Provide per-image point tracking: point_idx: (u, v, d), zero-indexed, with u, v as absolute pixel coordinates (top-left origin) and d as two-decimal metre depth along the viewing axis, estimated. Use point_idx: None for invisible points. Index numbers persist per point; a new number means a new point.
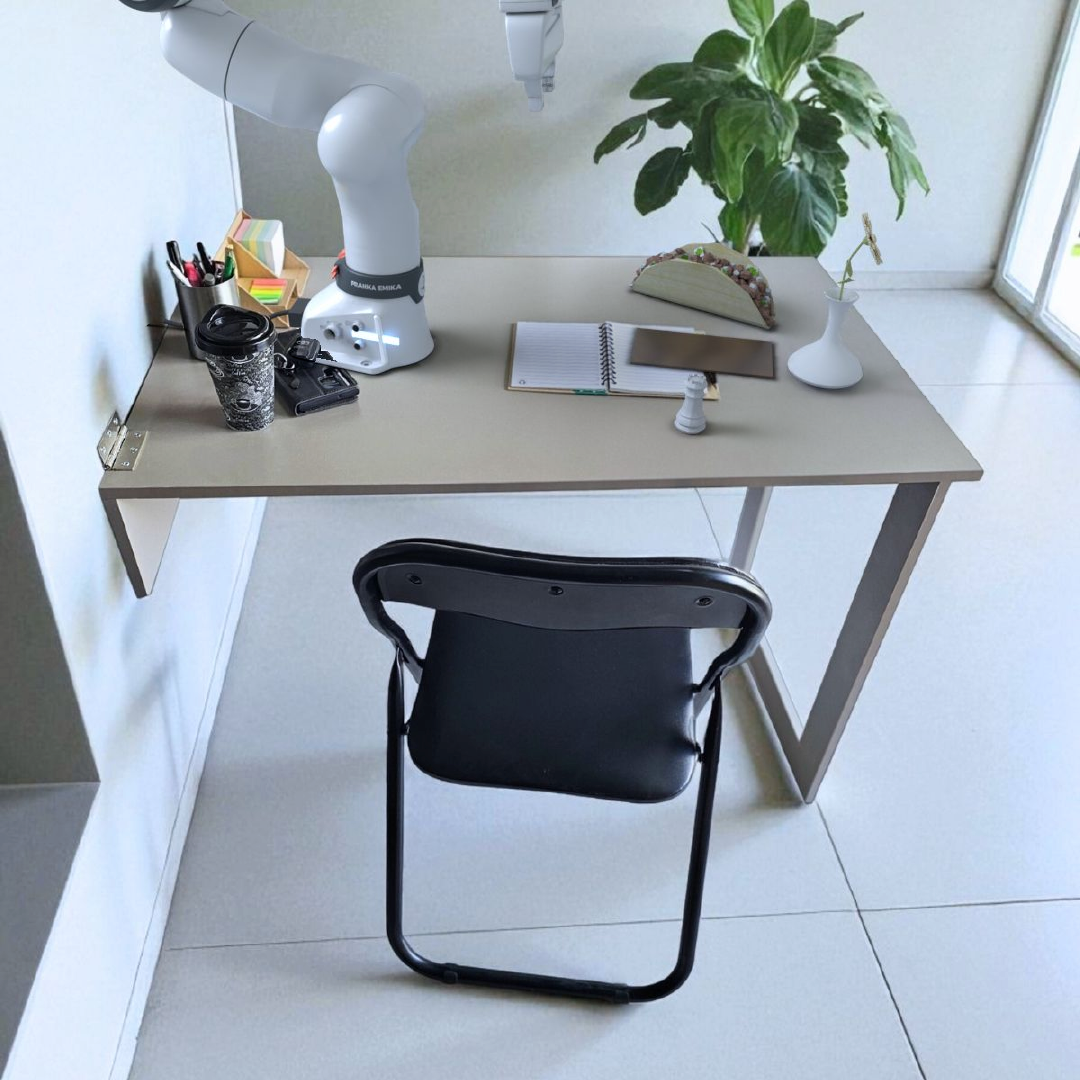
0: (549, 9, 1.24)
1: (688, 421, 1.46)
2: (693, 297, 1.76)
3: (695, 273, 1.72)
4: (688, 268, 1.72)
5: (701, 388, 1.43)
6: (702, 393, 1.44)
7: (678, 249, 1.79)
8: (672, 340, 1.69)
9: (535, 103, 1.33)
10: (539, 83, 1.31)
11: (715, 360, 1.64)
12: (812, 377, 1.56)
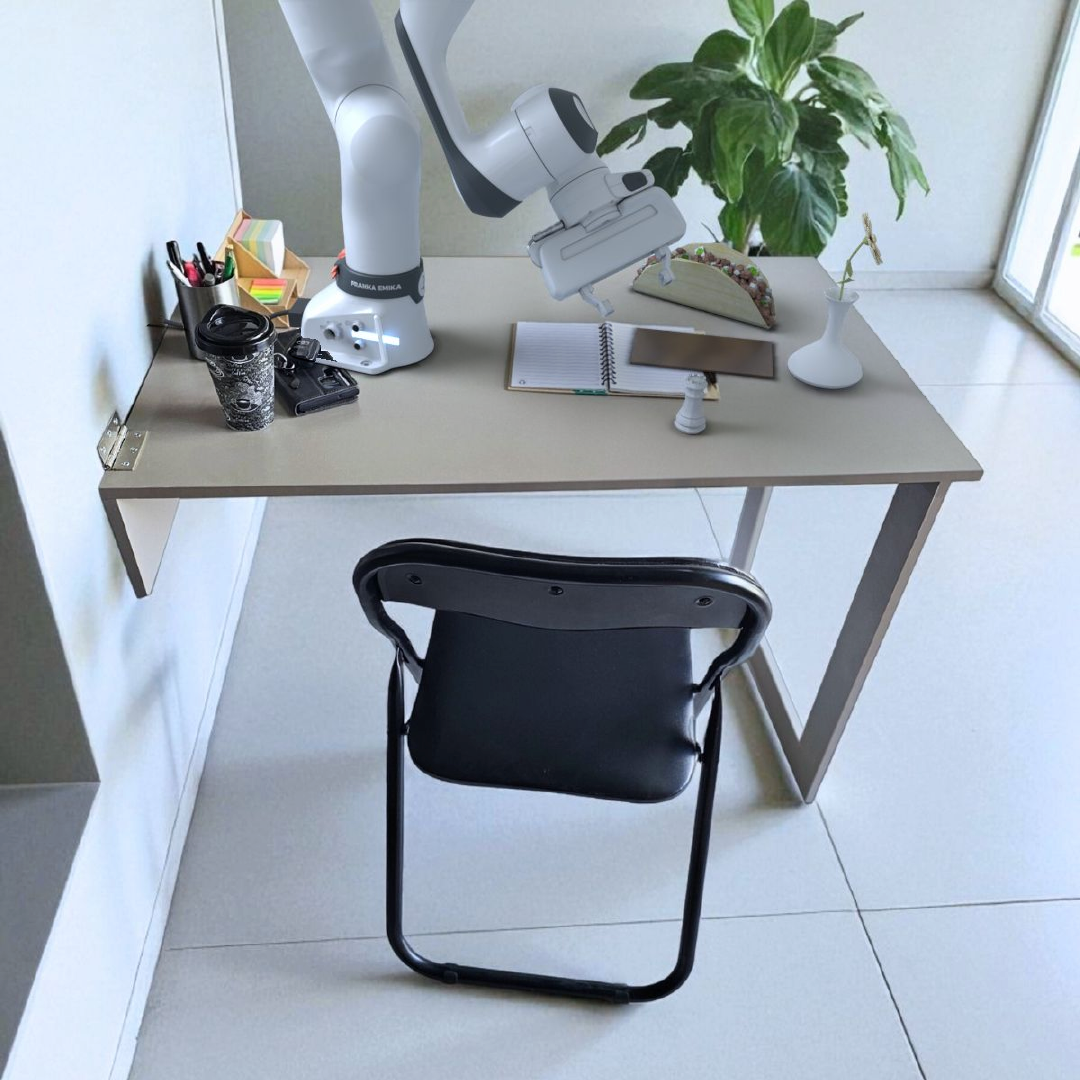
0: None
1: (688, 421, 1.46)
2: (693, 297, 1.76)
3: (695, 273, 1.72)
4: (688, 268, 1.72)
5: (701, 388, 1.43)
6: (702, 393, 1.44)
7: (678, 248, 1.79)
8: (672, 340, 1.69)
9: None
10: None
11: (715, 360, 1.64)
12: (812, 377, 1.56)
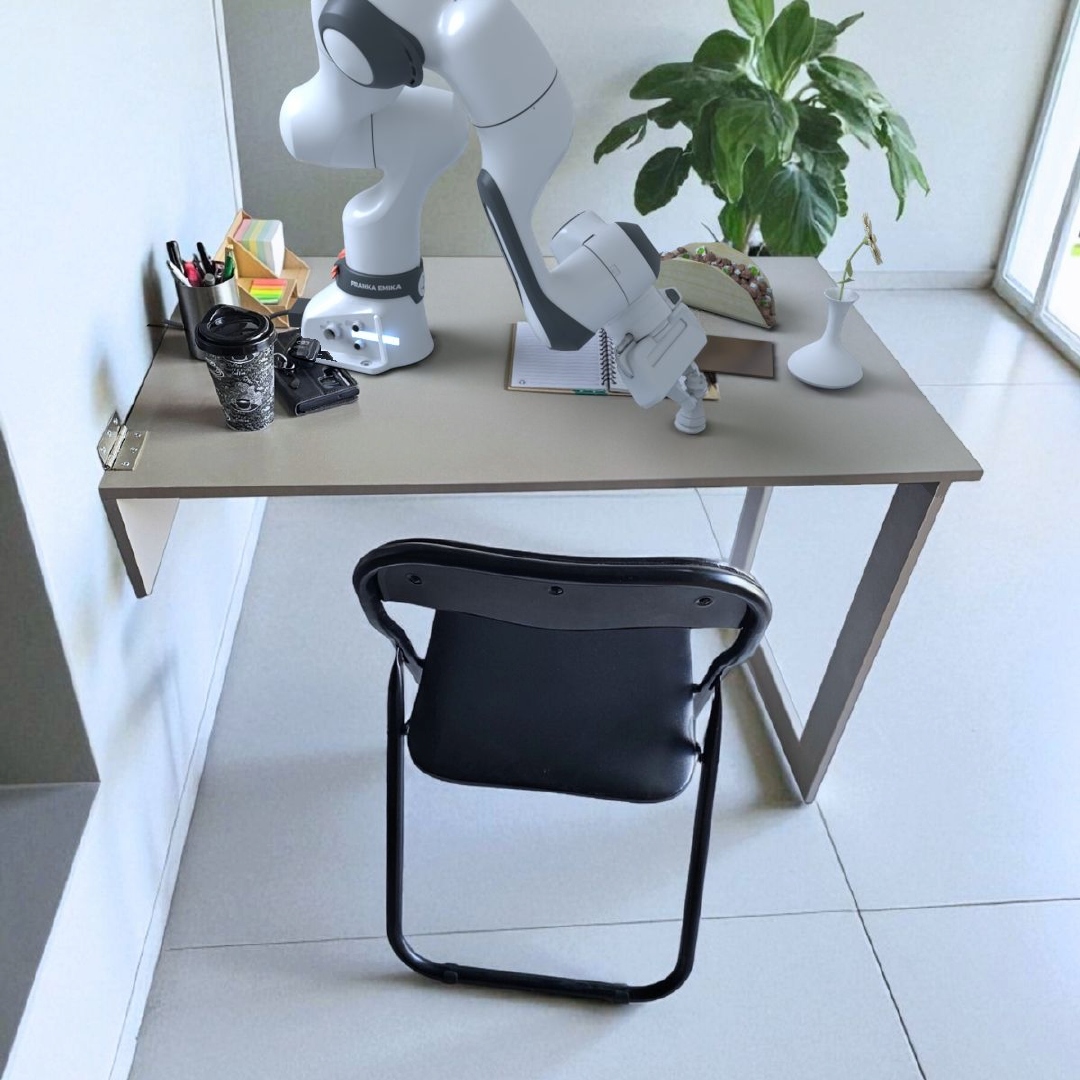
0: None
1: (688, 421, 1.46)
2: (694, 296, 1.76)
3: (696, 272, 1.72)
4: (689, 267, 1.72)
5: (701, 388, 1.43)
6: (702, 393, 1.44)
7: (680, 248, 1.80)
8: None
9: None
10: None
11: (715, 360, 1.64)
12: (812, 377, 1.56)
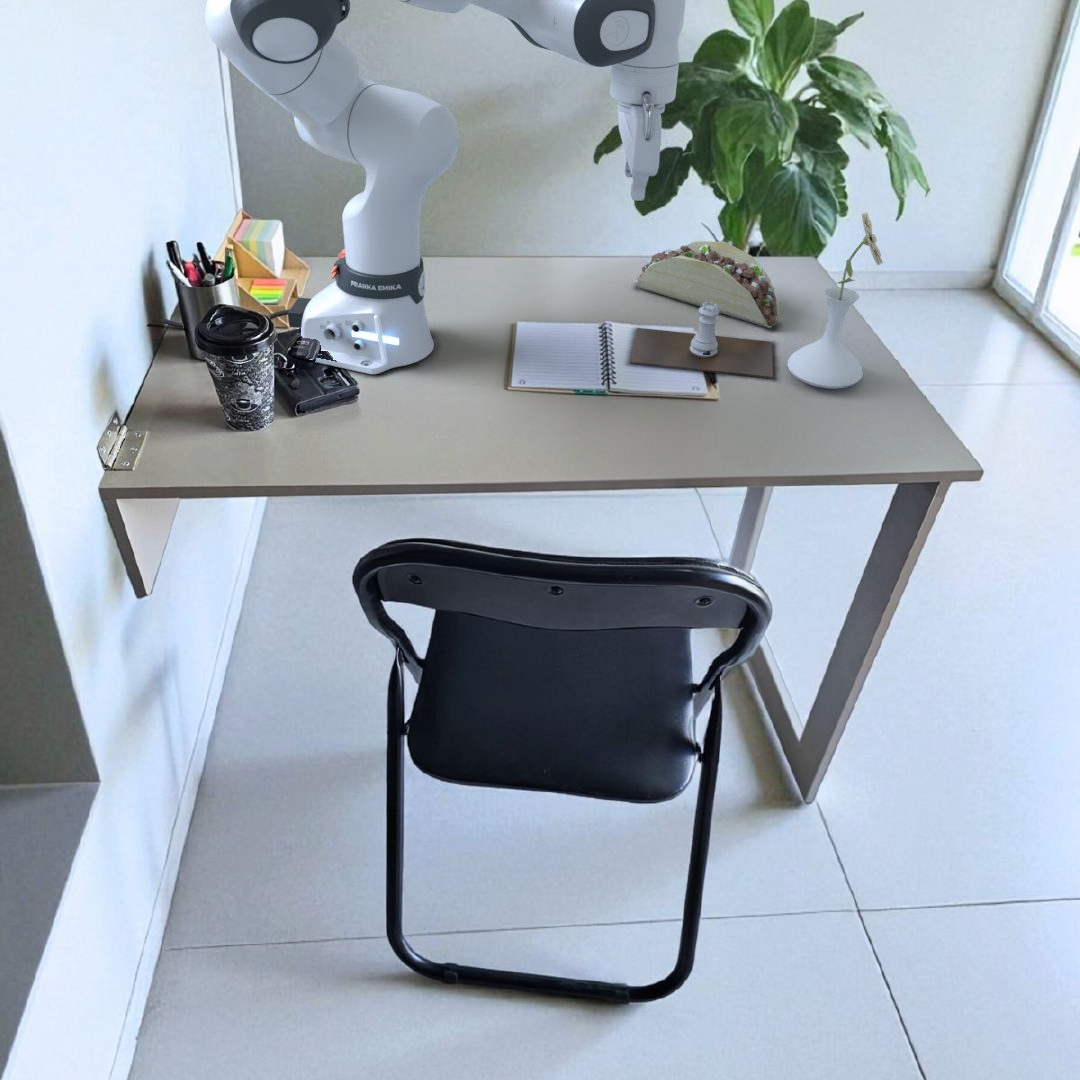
0: None
1: (707, 345, 1.63)
2: (696, 295, 1.76)
3: (698, 271, 1.73)
4: (690, 266, 1.73)
5: (717, 314, 1.61)
6: (715, 318, 1.62)
7: (683, 246, 1.80)
8: (672, 340, 1.69)
9: None
10: None
11: (715, 360, 1.64)
12: (812, 377, 1.56)
